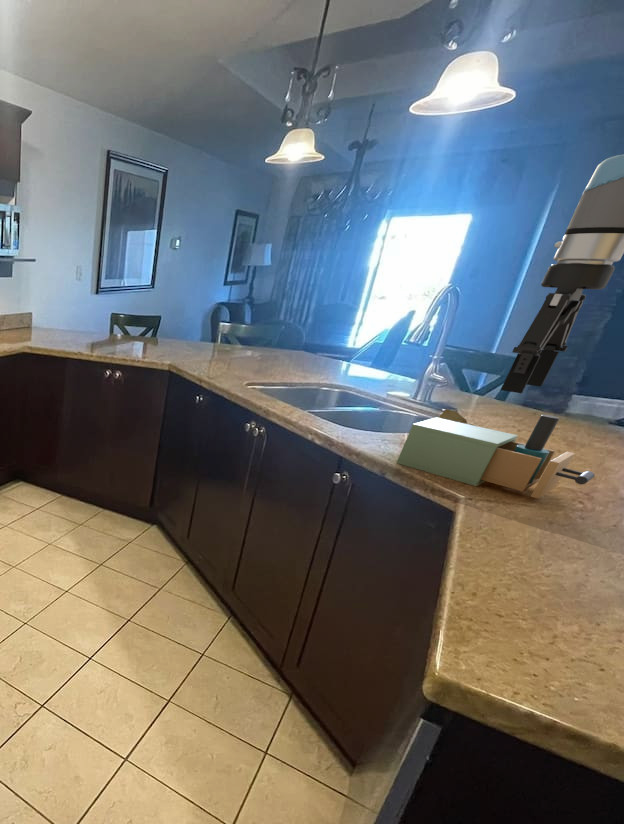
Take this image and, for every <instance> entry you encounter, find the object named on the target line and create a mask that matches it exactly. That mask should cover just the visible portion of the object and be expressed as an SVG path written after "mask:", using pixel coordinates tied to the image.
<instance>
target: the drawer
mask: <svg viewBox="0 0 624 824" xmlns="http://www.w3.org/2000/svg"><path fill="white" fill-rule="evenodd" d="M517 445H526V443H523V442H519V441H515V442H514V441H510V442H508V443H506V444H503V445H501V446H499V447H497V449H496V451H495V453H494V455H493V457H492V459H491V460H490V462H489V464H488V466H487V468H486V470H485V472H484V474H483V476H482V478H481V480H484V481H485V482H487V483H490V484H493V485H494V484H495V485H499V486H500V487H501V486H502V487H504V488H508V489H512V490H515V491H519V492H525V491H526V490H528V489H529V488H531V487H533V486H534V485H535V484H536V486H535V488H534V489H533V491H532V493H531V495H530V497H531V498H534V499H540V498H542V497H543V496H545V495H546V494H548V493H549V492H551V491H552V490H554V489H555V488H556V487H557V486H558V484H559V482H560V480H561V478H565V479H568V480H572V481H574V482H575V483H576V484H577V485H585V484H587V483H588V482H590V481H591V480H592V479H594V478H595V473H594V472H593V471H591V470H587V471H584V472H582V471H578V470H574V469H571V468H568V466H569V465H570V463H571V461H572V460H573V458H574V456H575V455H576V453H575V452H570V451H565V452H564V453H562V454H560V455H559V456H557V457H555V458H553V457H554V454H555V453H556V450H553V449H549V448H545V447H544V448H543V449H545V450H547V451H549V454H548V456H547V458H546V459H545V461H544V463H543V465H542V466H541V468H540V470H539V472H538V474H537V475H536V477H535V479H534V481H533V483H530V484H528V483H529V481H530V479H531V478H532V476H533V474H534V472H535V470H536V469H537V467H538V465H539V463H540V461H541V460H542V458H538V457H534V456H530V455H526V454H522V453H518V452H514V450H515V448H516V447H517ZM552 458H553V459H552ZM572 474H573V475H572ZM575 475H576V476H575Z"/></svg>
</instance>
